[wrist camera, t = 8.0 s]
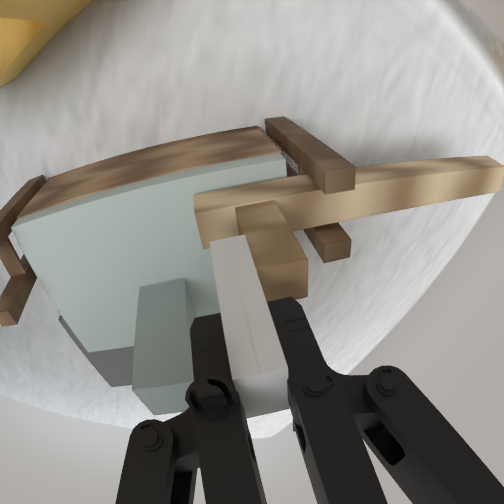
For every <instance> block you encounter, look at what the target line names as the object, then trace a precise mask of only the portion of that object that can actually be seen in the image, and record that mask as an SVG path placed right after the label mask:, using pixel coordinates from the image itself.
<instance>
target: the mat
mask: <svg viewBox="0 0 504 504" xmlns="http://www.w3.org/2000/svg"><path fill="white" fill-rule="evenodd" d="M59 321H60V323H61V324H62V325H63V327H64V328H65V330H66V331H67V332H68V334H69V335H70V336H71V338H72V339H73V340H74V342H75V343H76V344H77V346H78V347H79V348H80V350H81V351H82V352H83V353H84V355H85V356H86V357H87V358H88V360H89V361H90V362H91V363H92V365H93V366H94V367H95V368H96V369H97V371H98V372H99V373H100V374H101V375H102V376H103V378H104V379H105V380H106V381H107V382H108V383H109V385H110V386H111V387H117V386H126V385H132V377H133V357H134V346H131V347H124V348H117V349H110V350H103V351H95V352H88V351H87V350H86V349H85V347H84V346H83V345H82V343H81V342H80V341H79V339H78V338H77V337H76V335H75V334H74V333H73V331H72V330H71V328H70V327H69V326H68V324H67V323H66V321H65V320H64V318H63V317H62V316H60V317H59Z"/></svg>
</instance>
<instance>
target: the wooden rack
mask: <svg viewBox="0 0 504 504" xmlns="http://www.w3.org/2000/svg"><path fill="white" fill-rule="evenodd" d="M265 126H266V133H267V134H268V135H269V136H270V137H271V138H272V139H273V140H274V141H275V142H276V143H277V144H278V145H279V146H280V147H281V148H282V149H283V150H284V151H285V152H286V153H287V154H288V155H289V156H290V157H291V158H292V159H293V160H294V161H295V162H296V164H297V165H298V166H299V175H305V174H307V175H308V176H309V177H310V178H311V179H312V180H313V182H314V183H315V184H316V185H317V186H318V187H319V188H320V189H321V190H322V191H323V192H324V194H325V195H326V194H332V193H338V192H344V191H350V190H355V176H356V167H355V166H353V165H352V164H351V163H350V162H348V161H347V160H346V159H344V158H343V157H342V156H340V155H339V154H338V153H336V152H335V151H333V150H332V149H331V148H329V147H328V146H327V145H325V144H324V143H322V142H321V141H320V140H318V139H317V138H315V137H314V136H312V135H311V134H310V133H308V132H307V131H305V130H304V129H302V128H301V127H299V126H298V125H296V124H295V123H293V122H292V121H290V120H289V119H287V118H286V117H275V118H268V119H265ZM275 153H280V154H281V155H282V153H281V150H280V149H279V148H278V147H277V146H276V145H275V144H274V143H273V142H272V141H271V140H270V139H269V138H268V137H267V136H266V135H265V134H264V133H263V132H262V131H261V130H260V129H259V128H258V127H257V126H253V127H247V128H240V129H234V130H229V131H223V132H217V133H212V134H207V135H202V136H197V137H192V138H187V139H183V140H178V141H174V142H169V143H165V144H161V145H157V146H153V147H149V148H145V149H141V150H137V151H133V152H130V153H126V154H123V155H119V156H116V157H112V158H109V159H105V160H102V161H99V162H96V163H92V164H89V165H86V166H83V167H80V168H77V169H74V170H71V171H68V172H65V173H62V174H60V175H57V176H54V177H51V178H50V179H49V180H48V181H47V182H46V183H45V181H44V179H43V176H42V175H41V176H39V177H36V178H33V179H31V180H29V181H28V182H27V183H26V184H25V185H24V186H23V187H22V188H21V189H20V190H19V191H18V192H17V193H16V194H15V195H14V196H13V197H12V198H11V199H10V200H9V202H8V203H7V204H6V205H5V206H4V207H3V208H2V209H1V210H0V259H1V261H2V262H3V264H4V266H5V268H6V269H7V271H8V273H9V274H10V276H11V278H10V280H9V282H8V284H7V286H6V287H5V289H4V291H3V293H2V295H1V297H0V324H1V326H2V327H3V326H9V325H15V324H18V321H19V319H20V316H21V314H22V311H23V309H24V306H25V304H26V302H27V299H28V297H29V295H30V292H31V290H32V288H33V286H34V283H35V281H36V279H37V276H36V274H35V272H34V271H33V269H32V267H31V265H30V264H29V262H28V260H27V258H26V256H25V254H24V255H23V257H22V258H21V260H20V259H19V257H18V255H17V253H16V251H15V249H14V248H13V246H12V244H11V242H10V240H9V238H8V236H9V234H10V233H11V232H12V229H11V227H12V226H13V224H14V223H15V222H16V220H17V219H18V218H21V217H24V216H27V215H29V214H32V213H35V212H38V211H41V210H44V209H47V208H50V207H53V206H56V205H59V204H62V203H65V202H68V201H71V200H74V199H78V198H81V197H84V196H87V195H91V194H94V193H98V192H101V191H105V190H108V189H112V188H115V187H119V186H123V185H126V184H130V183H134V182H138V181H142V180H146V179H150V178H154V177H158V176H162V175H166V174H171V173H175V172H180V171H184V170H189V169H193V168H198V167H203V166H208V165H213V164H218V163H223V162H228V161H234V160H239V159H245V158H251V157H256V156H263V155H269V154H275ZM286 171H287V177H292V176H298V175H297V173H296V172H295V171H294V170H293V169H292V168H291V167H290V166H289V164H288V163H287V164H286ZM303 230H304V232H305V233H306V235H307V236H308V238H309V240H310V241H311V243H312V244H313V246H314V248H315V249H316V251H317V253H318V254H319V256H320V258H321V259H322V261H323V263H327V262H331V261H336V260H340V259H344V258H348V257H350V250H351V238H350V237H349V236H348V235H347V233H346V232H345V231H344V230H343V228H342V227H341V226H340V225H339V223H338V222H336V223H331V224H326V225H321V226H316V227H311V228H306V229H303Z"/></svg>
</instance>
